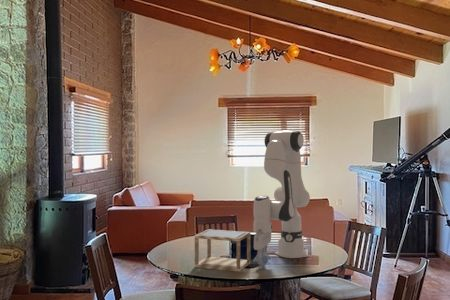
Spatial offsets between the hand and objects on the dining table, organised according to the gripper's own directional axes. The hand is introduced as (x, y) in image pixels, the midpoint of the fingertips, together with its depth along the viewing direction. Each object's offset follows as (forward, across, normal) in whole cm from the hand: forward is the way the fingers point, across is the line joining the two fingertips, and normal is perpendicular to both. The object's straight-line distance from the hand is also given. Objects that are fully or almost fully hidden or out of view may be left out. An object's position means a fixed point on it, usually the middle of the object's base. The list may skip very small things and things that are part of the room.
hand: (262, 254), depth 236 cm
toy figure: (+7, 0, 0) cm, 7 cm away
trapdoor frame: (+6, -1, +21) cm, 22 cm away
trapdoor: (-7, -1, +21) cm, 22 cm away
